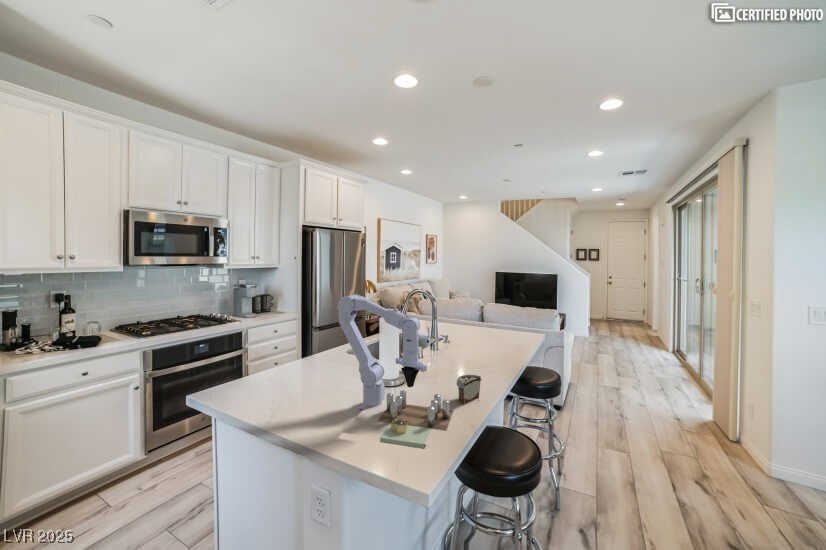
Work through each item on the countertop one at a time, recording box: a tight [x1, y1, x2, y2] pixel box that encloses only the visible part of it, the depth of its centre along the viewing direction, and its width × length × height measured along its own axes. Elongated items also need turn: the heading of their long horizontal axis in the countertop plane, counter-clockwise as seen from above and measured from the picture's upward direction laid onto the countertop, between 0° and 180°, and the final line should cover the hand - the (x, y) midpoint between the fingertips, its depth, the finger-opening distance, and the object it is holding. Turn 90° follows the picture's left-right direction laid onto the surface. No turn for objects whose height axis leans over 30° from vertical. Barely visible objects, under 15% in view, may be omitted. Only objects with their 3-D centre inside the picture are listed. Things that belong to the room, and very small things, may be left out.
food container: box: [456, 374, 482, 405], centre depth 140 cm, size 12×6×10 cm, turn 134°
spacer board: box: [376, 403, 454, 431], centre depth 124 cm, size 16×24×2 cm, turn 75°
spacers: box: [386, 389, 451, 427], centre depth 124 cm, size 13×23×6 cm, turn 75°
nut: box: [391, 418, 408, 434], centre depth 114 cm, size 6×5×3 cm
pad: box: [379, 423, 432, 450], centre depth 112 cm, size 10×14×2 cm
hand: (410, 386), depth 131 cm, fingers closed
